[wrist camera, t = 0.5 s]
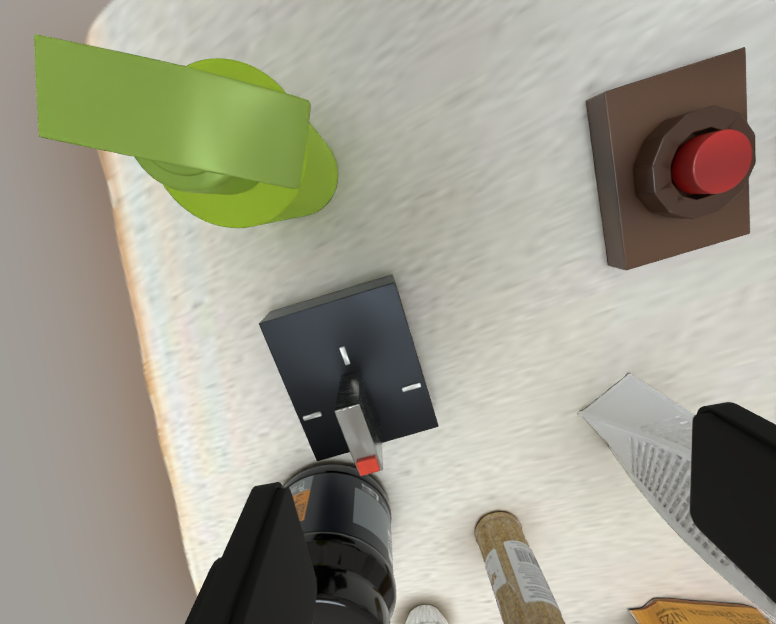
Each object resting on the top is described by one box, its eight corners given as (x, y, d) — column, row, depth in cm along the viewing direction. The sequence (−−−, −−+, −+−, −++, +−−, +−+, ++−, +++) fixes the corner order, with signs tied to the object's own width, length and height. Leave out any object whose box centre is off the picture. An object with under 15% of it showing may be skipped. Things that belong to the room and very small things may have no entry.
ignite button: (668, 144, 24) (691, 139, 22) (725, 126, 24) (752, 120, 22) (673, 201, 25) (694, 201, 23) (727, 184, 25) (753, 183, 23)
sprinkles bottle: (464, 528, 36) (515, 710, 23) (501, 501, 35) (576, 672, 22) (493, 555, 37) (557, 743, 24) (530, 529, 36) (617, 708, 24)
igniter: (585, 100, 26) (622, 83, 22) (715, 59, 26) (775, 34, 22) (608, 265, 29) (643, 275, 26) (722, 231, 29) (776, 235, 25)
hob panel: (269, 311, 29) (257, 324, 26) (392, 274, 29) (395, 282, 26) (324, 444, 33) (319, 469, 30) (434, 412, 32) (440, 434, 29)
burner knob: (340, 375, 28) (333, 413, 23) (361, 369, 28) (359, 406, 23) (361, 431, 29) (359, 479, 24) (381, 426, 29) (383, 472, 24)
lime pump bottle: (345, 226, 28) (284, 279, 9) (249, 207, 27) (-44, 219, 8) (359, 141, 26) (322, -24, 7) (258, 119, 26) (-82, -128, 6)
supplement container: (251, 505, 34) (189, 657, 23) (335, 436, 33) (315, 563, 21) (332, 569, 37) (313, 736, 25) (414, 508, 35) (434, 657, 24)
